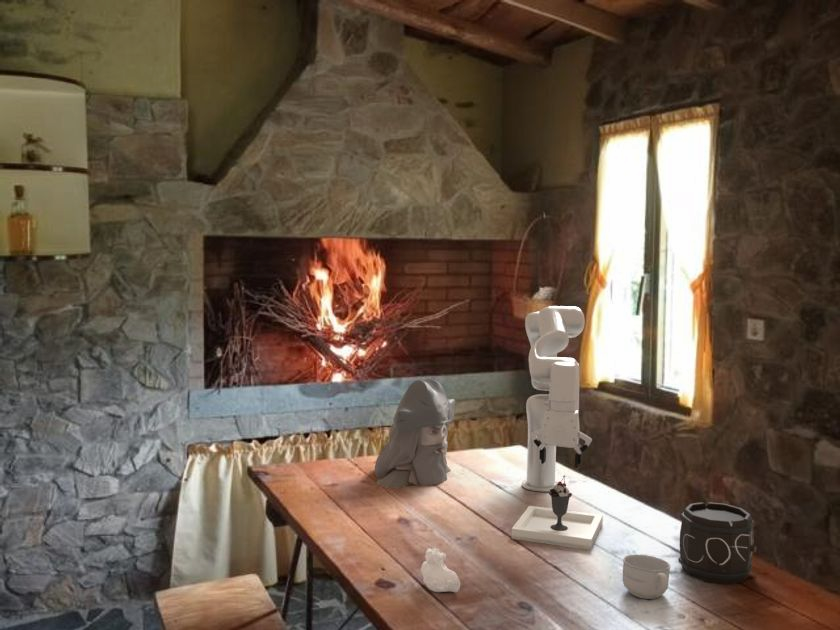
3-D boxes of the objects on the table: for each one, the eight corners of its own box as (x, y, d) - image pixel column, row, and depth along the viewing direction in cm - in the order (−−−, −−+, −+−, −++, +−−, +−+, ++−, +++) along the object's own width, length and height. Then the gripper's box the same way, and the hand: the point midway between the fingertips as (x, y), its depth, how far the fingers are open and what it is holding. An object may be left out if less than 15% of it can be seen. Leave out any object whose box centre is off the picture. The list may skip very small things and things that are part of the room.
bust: (422, 497, 270) (424, 390, 267) (347, 477, 292) (348, 378, 289) (483, 476, 295) (486, 378, 292) (411, 459, 317) (412, 367, 314)
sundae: (569, 524, 243) (571, 474, 242) (571, 532, 236) (573, 480, 235) (547, 523, 244) (548, 473, 243) (548, 531, 237) (549, 479, 236)
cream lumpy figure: (420, 590, 203) (399, 561, 198) (438, 565, 207) (418, 537, 201) (455, 606, 194) (434, 577, 189) (473, 580, 198) (453, 551, 193)
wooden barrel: (746, 592, 200) (750, 528, 198) (671, 576, 209) (673, 514, 208) (760, 568, 215) (763, 508, 214) (689, 554, 224) (692, 496, 223)
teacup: (615, 585, 203) (617, 553, 202) (659, 584, 204) (660, 552, 203) (635, 610, 189) (636, 575, 189) (681, 609, 190) (683, 575, 189)
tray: (529, 515, 254) (529, 505, 254) (602, 524, 246) (602, 514, 246) (511, 538, 233) (511, 528, 233) (591, 550, 226) (591, 539, 226)
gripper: (529, 405, 236) (527, 464, 238) (591, 411, 230) (588, 471, 232) (535, 400, 243) (533, 457, 245) (595, 405, 237) (592, 464, 239)
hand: (560, 464), depth 239 cm, fingers open, 9 cm apart
